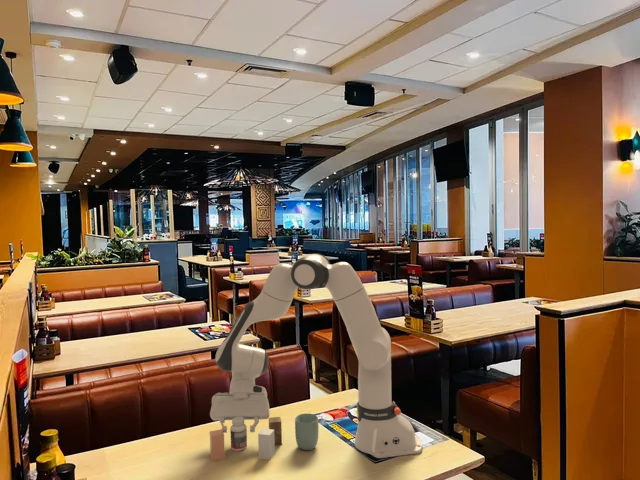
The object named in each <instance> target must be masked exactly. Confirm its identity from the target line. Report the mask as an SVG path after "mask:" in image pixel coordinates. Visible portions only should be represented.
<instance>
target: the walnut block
mask: <svg viewBox="0 0 640 480" xmlns="http://www.w3.org/2000/svg"><path fill="white" fill-rule="evenodd" d="M268 429H273V430H274V440H275V446H281V445H283V440H282V439H283V433H282V432H283V431H282V430H283V429H282V419H281V416H273V417H269V418H268Z"/></svg>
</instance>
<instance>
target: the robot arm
mask: <svg viewBox="0 0 640 480" xmlns="http://www.w3.org/2000/svg"><path fill="white" fill-rule="evenodd" d="M299 288H300V289H302V290H313V289H316V290H317V289H322V288H326V289H327V290H328V291H329V293H330V295H331V297H332V299H333V301H334V303H335V306H336V307H337V309H338V312H339V313H340V316H341V319H342V320H343V323H344V325H345V327H346V331H347V333H348V336H349V339H350V342H351V345H352V346H353V349H354V352H355V355H356V357H357V360H358V372H357V373H358V375H357V385H358V386H357V388H358V389H357V390H358V391H357V392H358V393H357V394H358V395H357V396H358V401H357V403H356V404H357V405H356V418H357V429H356V435H355V439H354V441H353V443H354V446H355V448H356V449H357V450H359V451H360V452H362V453H365V454H369V455H371V456H372V457H374V458H376V459H383V458H389V457H391V458H392V457H398V456H406V455H407V456H408V455H414V454H415V455H416V454H420V453H421V452H422V451H423V442H422V440H421V437H420V436H419V435H418V434H416V433H415V430H414V427H413V425H412V424H411V422H410V421H409V420H408V419H407V418H405V417H404V416H403V415H401V413H402V411H401V409H400V407H398V405H397V404H396V402H395V401H394V400H393V401H392V353H391V352H392V347H391V345H392V341H391V340H392V339H391V336H390V333H388V331H387V330H386V329H385V328H384V327H383V326H382V325H381V322H380V320H379V317H378V315H377V312H376V308H375V307H374V305H373V303H372V300H371V298H370V296H369V294H368V291H366V288H365V286H364V284H363V282H362V280H361V278H360V277H359V275H358V274H357V272H356V270H355V269H354V268H353V266H352V265H351V264H350V263H348V262H346V261H339V262H336V263H333V264H331V262H330V260H329V259H328V258H327V256H325V255H324V254H322V253H319V252H318V253H317V252H314V253H308V254H306V255H303V256H302V257H299V259H296V261H295V262H294V263H293V265H291V264H288V263H283V262H281V263H277V264H276V265H274V266H273V268H272V269H271V271H270V272H269V274H268V276H267V277H266V279H265V282H264V284H263V287H262V289H261V292H260V294H258V296H257V297H256V298H255V299H253V300H252V301H249V302H247V303H246V304H245V305H244V307H243V308H242V310H241V312H240V313H239V314H238V316H237V318H236V320H235V322H234V323H233V325H232V327H231V329H230V330H229V332H228V333H227V335H226V337H225V338H224V340H223V341H222V342H221V344H220V345H219V347H218V348H217V350H216V353H215V359H214V360H215V361H214V362H215V364H216V365H217V368H219V369H220V370H221V371H222V372H229V373H230V372H231V377H232V378H231V380H230V385H229V392H216V393H215V394H214V395H213V396H212V397H211V408H210V411H209V416H210V418H211V420H212V421H219V423H220V425H221V429H222V431H223V433H224V434H227V433H228V426H227V425H224V424H225V422H226V421H232V419H233V418H235V417H243V418H244V421H247V420H253V421H254V422H253V424H252V425H250V427H249V432H250V433H255V432H256V427H257V426H258V424H259V423H260V420H269V418H270V416H271V415H270V413H271V412H270V403H269V399H268V392H267V389H266V388H265V387H264V386H260V385H256V378H257V379H258V378H259V377H261V376H262V375H264V374H265V373H266V372H267V371H268V368H269V363H270V361H269V359H270V357H269V354H268V352H267V351H266V349H263V348H260V347H257V346H251V345H246V344H243V343H240V341H241V339H242V338H243V336H244V334H245V332H246V330H247V329H248V328H249V327H250V326H251V325H253V324H255V323H259V322H263V321H274V320H278V319H280V318H281V317H283V316H285V315H286V314H287V313H288V311H289V309H290V307H291V305H292V302H293V299H294V298H295V297H294V296H295V295H296V294H295V293H296V292H297V290H298V289H299Z"/></svg>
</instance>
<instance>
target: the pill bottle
mask: <svg viewBox="0 0 640 480" xmlns="http://www.w3.org/2000/svg"><path fill="white" fill-rule="evenodd" d="M247 428H248V427H247V424H245V420H244V418H243V417H235V418H233V419H232V420H231V426H230V448H231V450H232V451H236V452H239V451H243V450H245V449H247V447H248V436H247V435H248V433H247V432H248V431H247Z"/></svg>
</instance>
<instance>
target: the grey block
mask: <svg viewBox="0 0 640 480" xmlns="http://www.w3.org/2000/svg"><path fill="white" fill-rule="evenodd" d="M257 440H258V442H257V444H258V459H262V460H270V461H271V460H272V459H273V457H274V456H275V454H276V453H275V452H276V451H275V450H276V449H275V448H276V447H275V446H276V445H275V440H274V430H273V429H269V428H262V429H261V430H260V431H259V433H258V435H257Z"/></svg>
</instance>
